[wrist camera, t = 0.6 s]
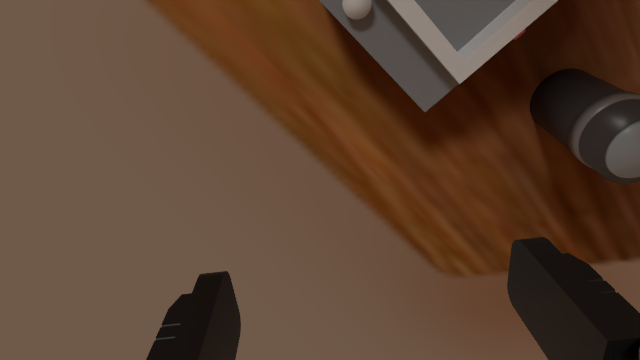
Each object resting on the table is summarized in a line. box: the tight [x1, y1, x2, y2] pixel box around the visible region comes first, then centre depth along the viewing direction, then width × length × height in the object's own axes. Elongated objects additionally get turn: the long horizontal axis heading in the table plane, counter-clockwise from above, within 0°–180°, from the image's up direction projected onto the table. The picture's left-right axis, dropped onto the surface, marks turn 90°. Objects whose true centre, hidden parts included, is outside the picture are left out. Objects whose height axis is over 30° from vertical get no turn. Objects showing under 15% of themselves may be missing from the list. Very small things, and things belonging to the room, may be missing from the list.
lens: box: [530, 69, 640, 183], centre depth 28 cm, size 5×5×9 cm
